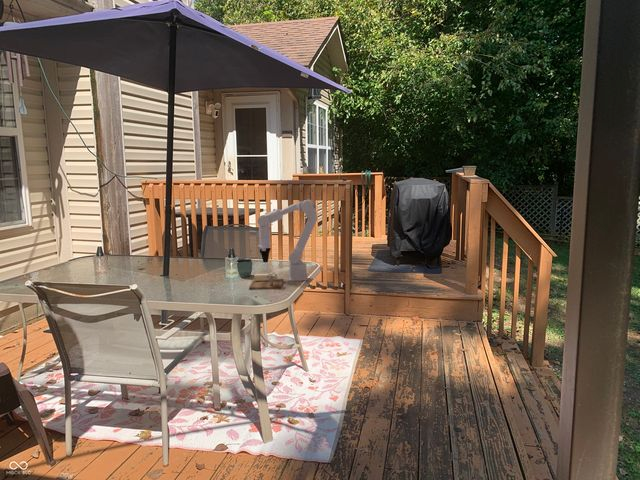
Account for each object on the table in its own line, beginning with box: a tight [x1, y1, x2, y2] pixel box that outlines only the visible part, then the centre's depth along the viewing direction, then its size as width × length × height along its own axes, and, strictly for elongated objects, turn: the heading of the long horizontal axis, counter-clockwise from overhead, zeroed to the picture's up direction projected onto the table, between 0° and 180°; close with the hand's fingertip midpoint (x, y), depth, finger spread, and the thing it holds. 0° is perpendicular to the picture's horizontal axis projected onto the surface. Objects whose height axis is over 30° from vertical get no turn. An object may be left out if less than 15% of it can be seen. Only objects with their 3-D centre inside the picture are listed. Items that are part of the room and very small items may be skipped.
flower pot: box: [235, 258, 253, 278], centre depth 282 cm, size 9×9×9 cm
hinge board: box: [248, 273, 284, 290], centre depth 260 cm, size 16×18×6 cm
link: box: [253, 272, 278, 281], centre depth 266 cm, size 12×4×4 cm, turn 90°
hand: (265, 261), depth 271 cm, fingers closed
